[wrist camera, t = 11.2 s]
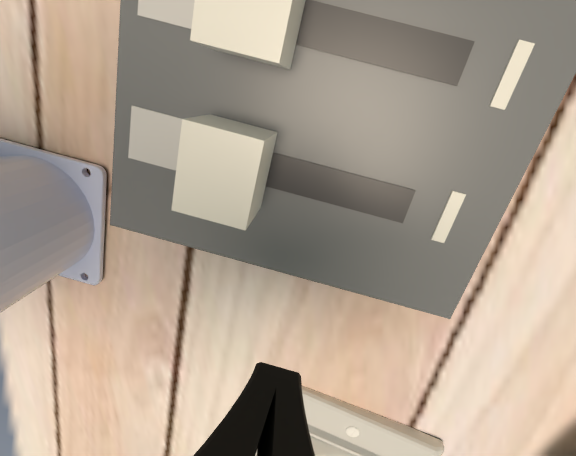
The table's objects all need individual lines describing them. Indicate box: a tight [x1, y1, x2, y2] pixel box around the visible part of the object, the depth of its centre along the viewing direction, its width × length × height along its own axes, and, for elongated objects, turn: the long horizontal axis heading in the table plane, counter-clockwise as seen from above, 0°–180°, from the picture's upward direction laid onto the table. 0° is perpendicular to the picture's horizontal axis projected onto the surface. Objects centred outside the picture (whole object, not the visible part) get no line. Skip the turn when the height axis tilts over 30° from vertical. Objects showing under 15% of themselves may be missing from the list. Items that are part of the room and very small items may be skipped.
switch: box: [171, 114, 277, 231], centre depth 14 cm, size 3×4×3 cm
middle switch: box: [190, 0, 305, 69], centre depth 12 cm, size 3×4×3 cm
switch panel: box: [110, 0, 576, 319], centre depth 15 cm, size 18×22×3 cm
